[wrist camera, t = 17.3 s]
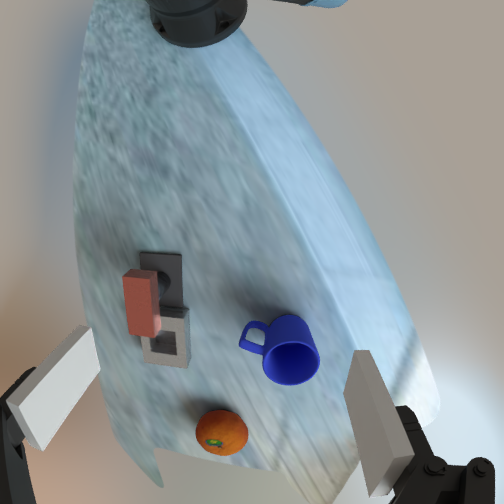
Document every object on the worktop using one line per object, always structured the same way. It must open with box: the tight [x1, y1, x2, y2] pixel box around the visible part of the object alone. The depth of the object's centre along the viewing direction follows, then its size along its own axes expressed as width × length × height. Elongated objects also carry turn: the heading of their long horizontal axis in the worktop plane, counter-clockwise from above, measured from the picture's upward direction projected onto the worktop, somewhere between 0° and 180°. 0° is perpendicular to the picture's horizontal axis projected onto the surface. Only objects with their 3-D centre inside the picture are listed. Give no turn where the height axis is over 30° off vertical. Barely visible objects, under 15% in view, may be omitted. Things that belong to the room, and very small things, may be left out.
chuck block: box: [141, 306, 191, 368], centre depth 52 cm, size 10×8×4 cm
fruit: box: [196, 410, 248, 456], centre depth 55 cm, size 11×10×8 cm
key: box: [122, 269, 171, 338], centre depth 46 cm, size 4×9×10 cm, turn 177°
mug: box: [239, 315, 320, 385], centre depth 47 cm, size 8×12×10 cm
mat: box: [140, 252, 183, 308], centre depth 51 cm, size 9×7×1 cm
